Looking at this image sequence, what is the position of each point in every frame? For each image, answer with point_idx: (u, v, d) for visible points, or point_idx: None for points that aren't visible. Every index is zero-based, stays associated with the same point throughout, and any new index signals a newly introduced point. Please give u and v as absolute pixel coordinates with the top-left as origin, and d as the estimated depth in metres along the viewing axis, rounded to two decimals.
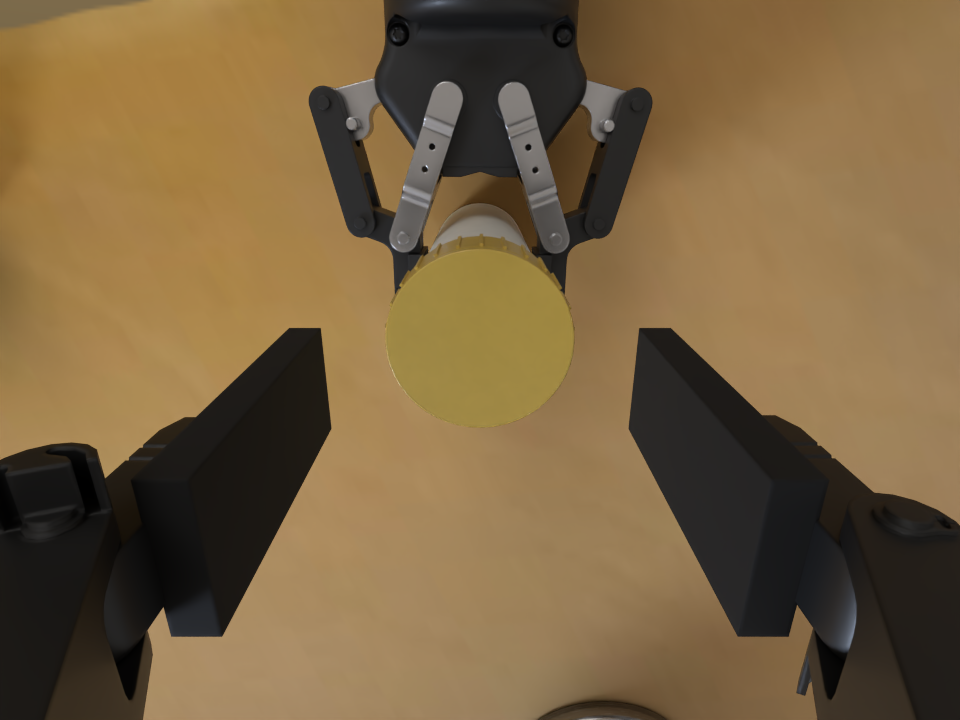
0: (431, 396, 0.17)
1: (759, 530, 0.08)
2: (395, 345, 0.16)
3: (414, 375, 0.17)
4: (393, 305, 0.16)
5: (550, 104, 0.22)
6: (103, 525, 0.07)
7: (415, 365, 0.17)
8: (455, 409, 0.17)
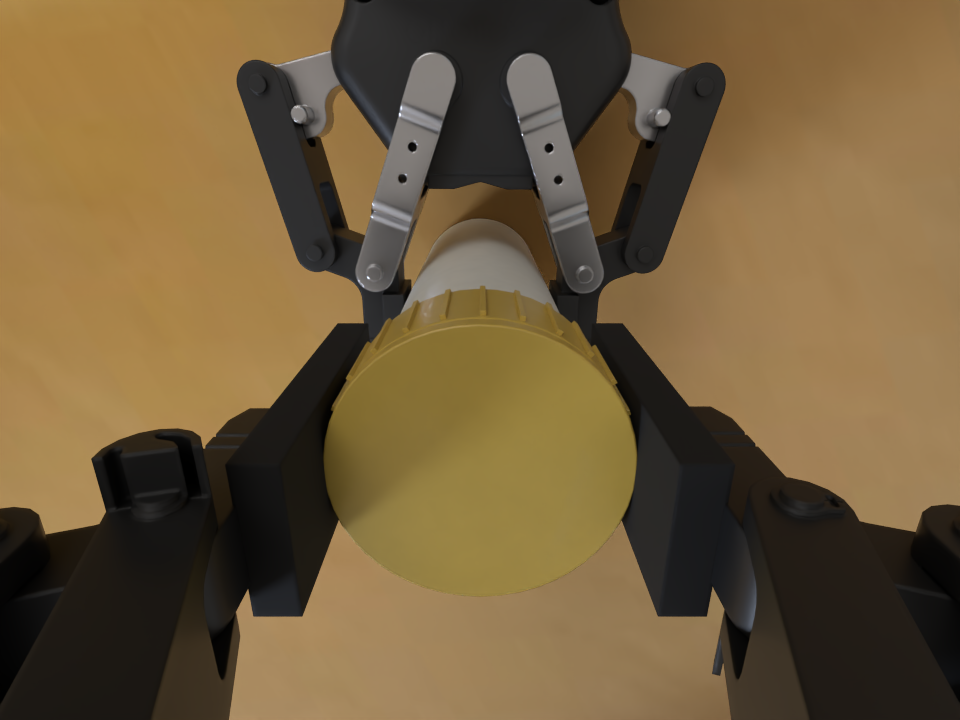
0: (401, 552, 0.10)
1: (672, 513, 0.08)
2: (340, 476, 0.10)
3: (373, 521, 0.10)
4: (334, 414, 0.09)
5: (580, 87, 0.16)
6: (203, 509, 0.07)
7: (374, 506, 0.10)
8: (440, 570, 0.11)
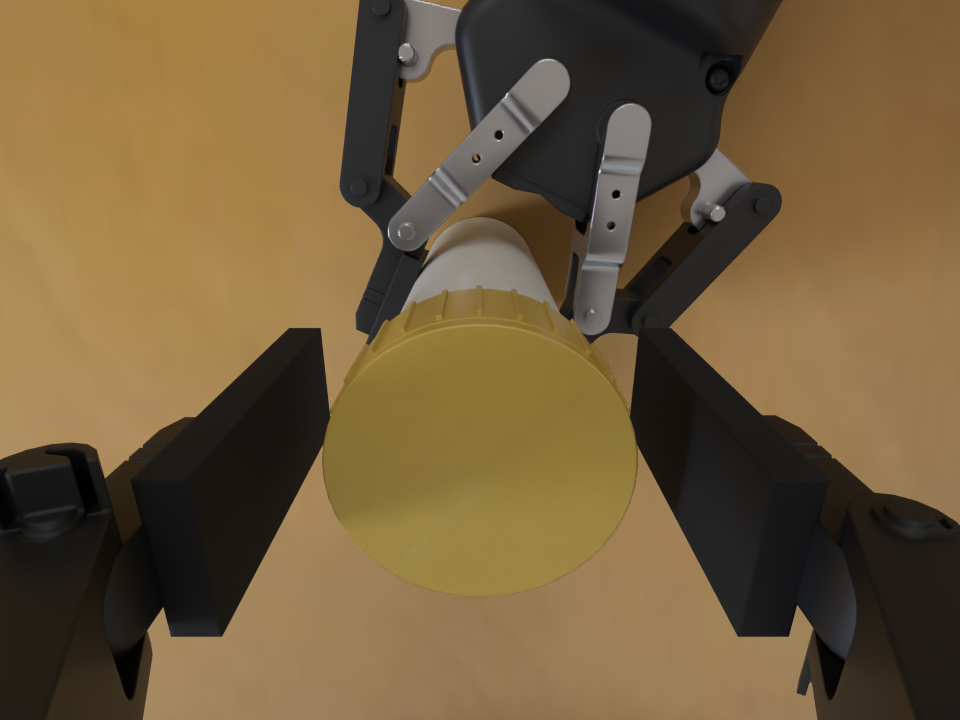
0: (562, 550, 0.10)
1: (759, 530, 0.08)
2: (469, 585, 0.11)
3: (522, 567, 0.11)
4: (407, 579, 0.11)
5: (664, 154, 0.16)
6: (103, 525, 0.07)
7: (505, 564, 0.11)
8: (592, 519, 0.10)
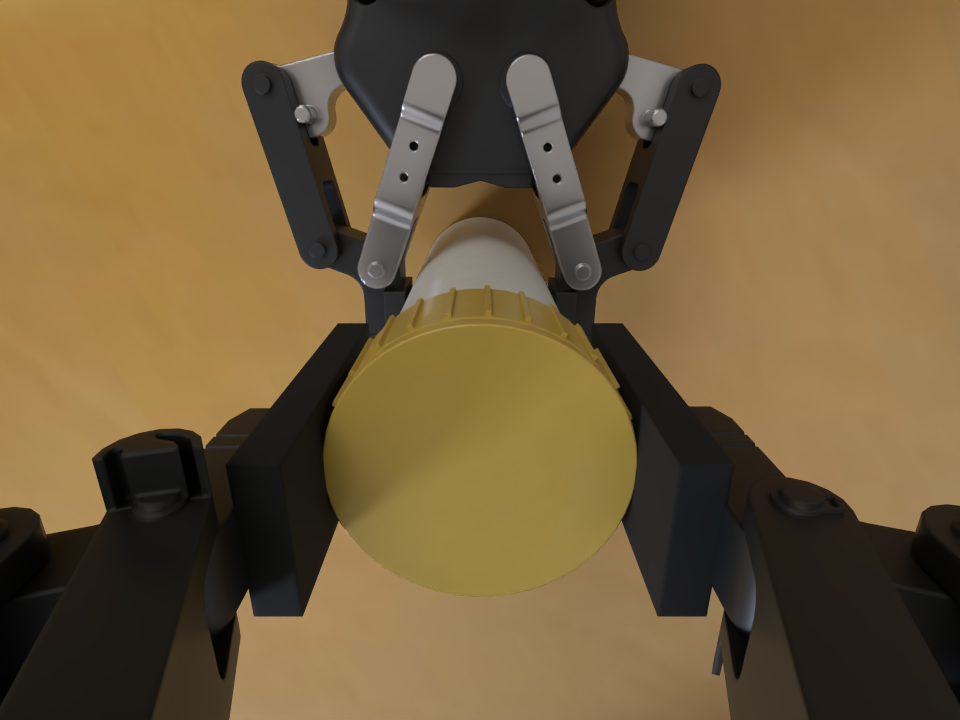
0: (594, 514, 0.10)
1: (672, 513, 0.08)
2: (524, 579, 0.11)
3: (565, 545, 0.10)
4: (464, 593, 0.11)
5: (578, 87, 0.16)
6: (204, 509, 0.07)
7: (547, 548, 0.10)
8: (608, 475, 0.10)
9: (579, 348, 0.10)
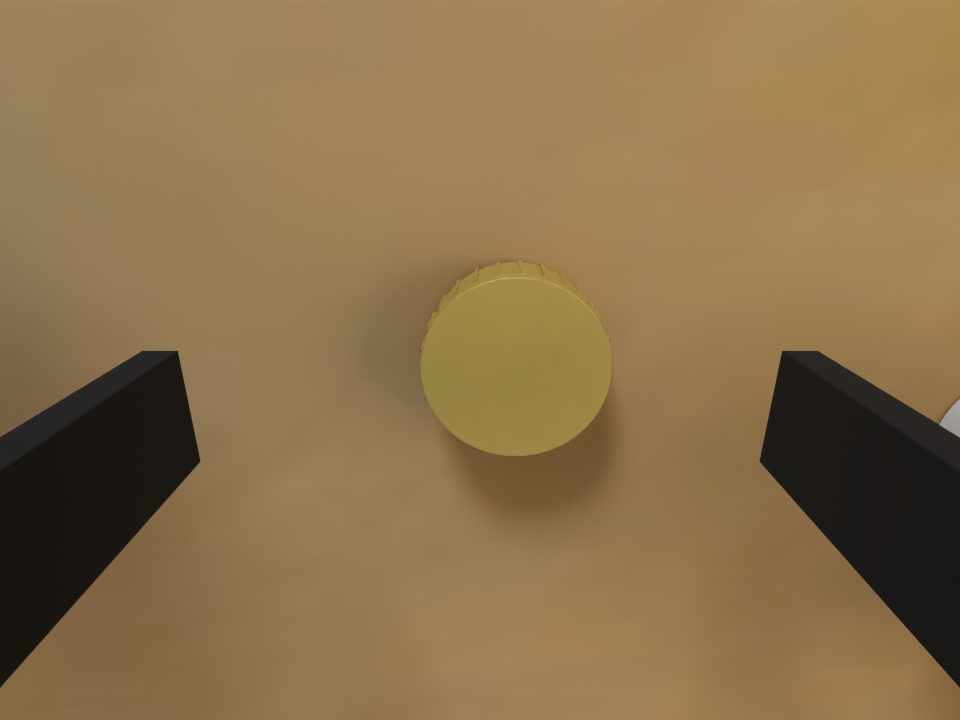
0: (586, 399, 0.16)
1: None
2: (542, 444, 0.17)
3: (568, 420, 0.17)
4: (504, 454, 0.17)
5: None
6: None
7: (557, 422, 0.17)
8: (594, 373, 0.16)
9: (576, 294, 0.16)
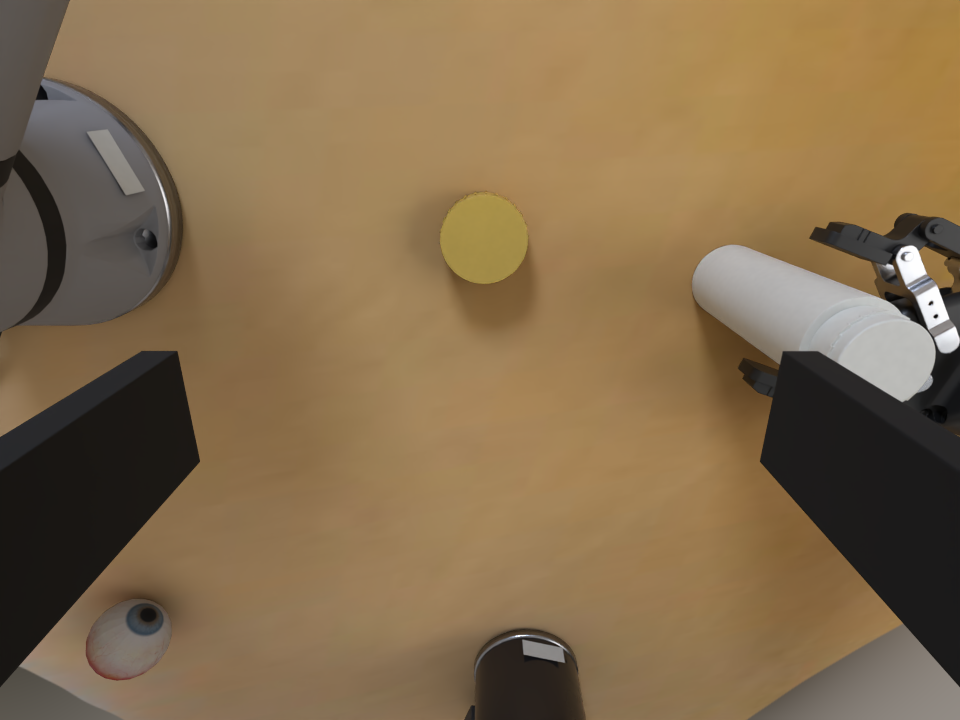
0: (516, 254, 0.35)
1: None
2: (497, 277, 0.36)
3: (508, 265, 0.36)
4: (479, 283, 0.36)
5: None
6: None
7: (503, 266, 0.36)
8: (519, 241, 0.35)
9: (511, 204, 0.35)
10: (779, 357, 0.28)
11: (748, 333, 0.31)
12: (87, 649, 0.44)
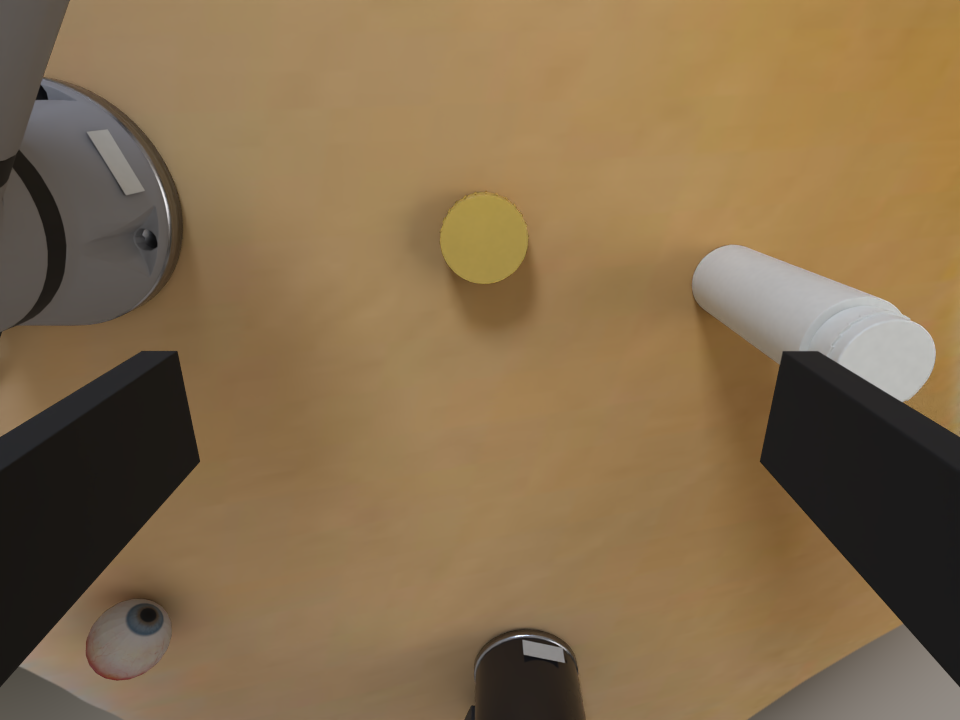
0: (516, 254, 0.35)
1: None
2: (497, 277, 0.36)
3: (508, 265, 0.36)
4: (479, 283, 0.36)
5: None
6: None
7: (503, 266, 0.36)
8: (519, 241, 0.35)
9: (511, 204, 0.35)
10: (779, 357, 0.28)
11: (748, 333, 0.31)
12: (87, 649, 0.44)
